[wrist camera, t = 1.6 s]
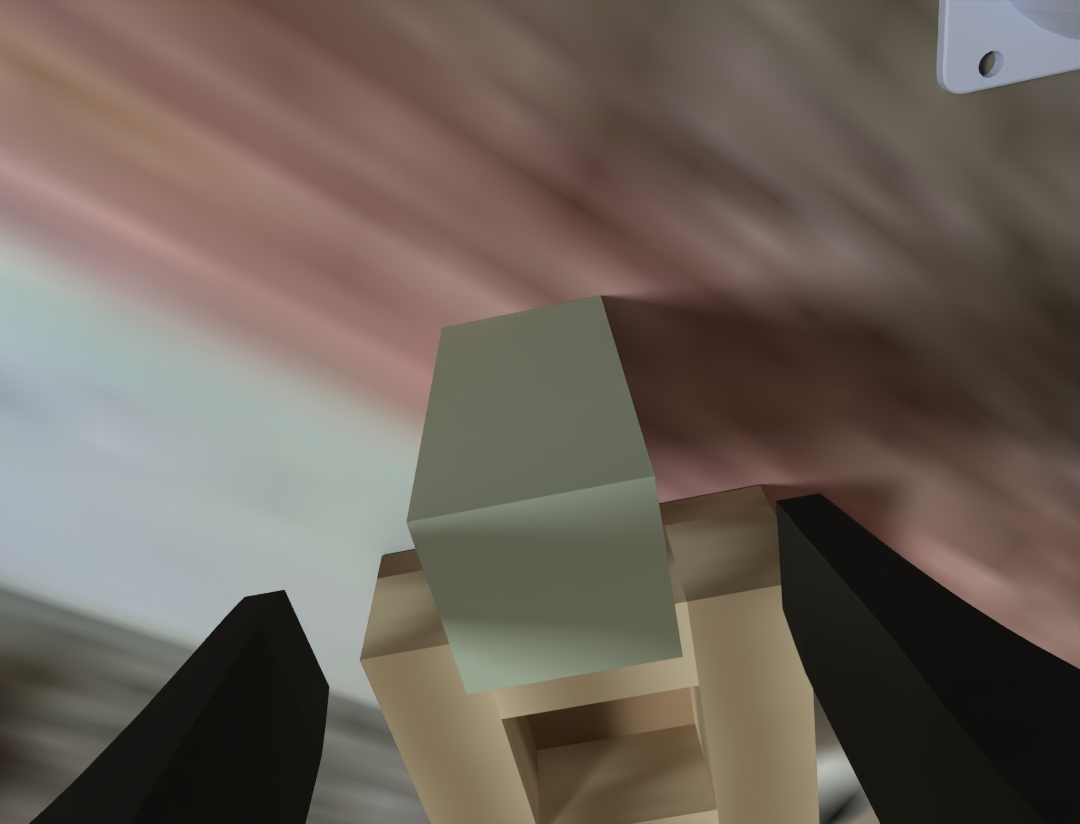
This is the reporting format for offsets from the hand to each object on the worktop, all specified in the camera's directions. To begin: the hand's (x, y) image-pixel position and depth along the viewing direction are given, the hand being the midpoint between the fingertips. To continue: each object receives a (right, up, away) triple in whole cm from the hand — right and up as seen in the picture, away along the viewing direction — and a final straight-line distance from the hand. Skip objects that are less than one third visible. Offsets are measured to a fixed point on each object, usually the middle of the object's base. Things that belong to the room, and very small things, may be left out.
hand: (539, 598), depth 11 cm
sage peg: (0, +3, +9) cm, 10 cm away
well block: (+2, -5, +14) cm, 15 cm away
